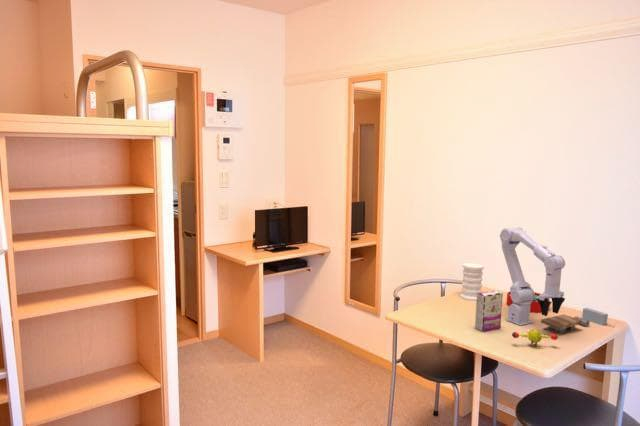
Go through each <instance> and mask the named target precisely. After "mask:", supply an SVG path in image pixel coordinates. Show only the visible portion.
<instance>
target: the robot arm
mask: <svg viewBox="0 0 640 426" xmlns="http://www.w3.org/2000/svg"><path fill="white" fill-rule="evenodd" d="M499 239H500V242H501V249H502V252H503V255H504V260H505V263H506V266H507V269H508V272H509V275H510V278H511V283H512V285H511V286H510V287H509V292H510V291H511V299H512V301H513V304H512V305H510V306H508V309H507V318H506V319H505V321H508V322H509V323H513V324H516V325H517V326H524V325H529V324H533V323H534V321H533V320H530V315H531V313H530V305H531V303H532V301H533V300H534V298H535V293H534V292H535V291H534V289H533V288H532V286H531V284H530V283H529V282H528V281H526V279H525V276H524V274H523V270H522V267H521V264H520V259H519V258H518V255H517V251H516V248H517V247H518V245H519V244H520V243H522V244H523V245H524V246H526V247H528V248H529V249H530V250H531V251H532V252H533V256H535V257H536V258H537V259H538V260H540V261H541V262H542V263H543V265H544V267H545V282H544V284H545V285H544V292H543V293H540V294H541V295H539V298H538V299H537V300H538V302H539V304H540V308H541V313H540V314H541V316H544V317H547V316H548V314H549V310H550V306H551V304H552V307H551V309H552V310H551V311H552V313H554V314H558V313H559V312H560V308H561V306H562V305H563V303H564V302H565V300H566V298H565V297H564V296H565V295H564V294H565V291H561V289H560V287H561V278H562V269H564V268H565V266H566V261H565V260H566V259H564V257H563V256H562V255H557V254H556V253H555V252H552V251H551V250H550V249H548V246H546V245H543V244H541V245H539V244H538V243H537V242H536V241H535V240H534V239H533V238H532V237H531V236H529V234H528V233H527V231H526V230H525V229H523V228H522V227H505V228H502V229H501V231H500V233H499ZM548 299H551V301H548Z"/></svg>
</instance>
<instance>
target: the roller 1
mask: <svg viewBox="0 0 640 426" xmlns="http://www.w3.org/2000/svg"><path fill="white" fill-rule="evenodd" d="M548 328H549V330H552V331H555V332H558V333H561V334H564V333H565V332H566V330H567V329H566V328H563V329H558V328H555V327H552V326H549V325H548Z"/></svg>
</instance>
